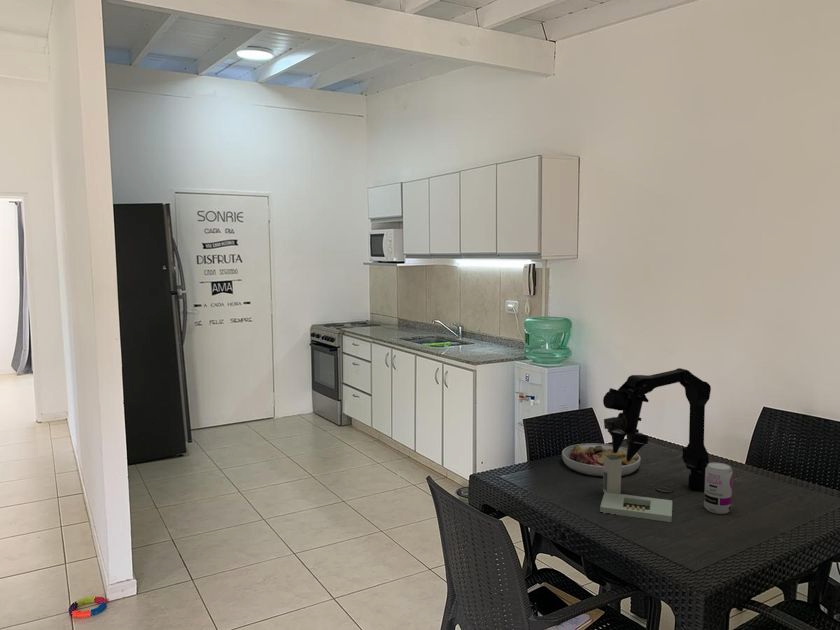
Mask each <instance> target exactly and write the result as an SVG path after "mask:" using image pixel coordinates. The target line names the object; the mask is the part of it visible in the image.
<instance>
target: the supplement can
mask: <svg viewBox="0 0 840 630" xmlns="http://www.w3.org/2000/svg"><path fill="white" fill-rule="evenodd" d="M733 475H734V473H733V469H732V467H731V465H730V464H727V463H722V462H709V464H708V465H707V467H706V468H705V492H704V491H703V493H704V495H703V497H704V498H703V499H704V500H703V507H704V509H705V510H706V511H708V512H710V513H712V514H713V513H714V514H718V515H724V514H726V515H727V514H728V513H730V512H731V510H732V498H733V497H732V495H733Z"/></svg>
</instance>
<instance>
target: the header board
mask: <svg viewBox="0 0 840 630" xmlns="http://www.w3.org/2000/svg"><path fill="white" fill-rule="evenodd" d="M601 499H602V500H601V503H600V506H599V508H600V509H599V513H600V512H603V513H602V514H606V513H610V514H609V515H614V514H616V515H615V516H621V517H622V516H623V517H630V518H639V519H644V520H652V521H658V522H665V523H666V522H667V523H672V520H673V519H672V518H673V516H672V515H673V500H670V499H662V498H657V497H655V498H654V497H647V496H638V495H632V494H631V495H630V494H624V493H623V494H616V493H608V492H605V493H604V494H603V496H602V498H601ZM627 503H628V504H627ZM625 504H626V506H624V505H625ZM635 504H636V505H637V506H636V507H635ZM630 505H631V507H630ZM643 505H645V506H643ZM640 506H642V507H641V508H640ZM646 507H649V509H646Z"/></svg>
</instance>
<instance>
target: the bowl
mask: <svg viewBox="0 0 840 630" xmlns="http://www.w3.org/2000/svg"><path fill="white" fill-rule="evenodd" d="M627 449H628V447H624V446H623V447H622V446H620V448H619V450H618V451H617V453H613V444H607V443H593V442H591V443H579V444H572V445H569V446H567V447H565V448H564V449H563V450H562V451H561V457H562V460H563V463H564V464H565V465H566V466H567V467H568V468H569V469H571V470H573V471H575V472H577V473H581V474H584V475H587V476H592V477H593V476H594V477H603V472H604V456H606V455H616V456H617V457H619V458H620V459H621V460H622V464H621V477H623V476H628V475H630V474H632V473H635V472H636V471H637V470H638V469H639V467H640V465H641V462H642V461H641V456H640V455H639V453H636V454H635V455H634V456H633V457H632V459H631V460H630V461H627V460H626V457H627Z"/></svg>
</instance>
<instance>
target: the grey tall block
mask: <svg viewBox="0 0 840 630" xmlns="http://www.w3.org/2000/svg"><path fill="white" fill-rule="evenodd" d="M621 464H622V460H621V459H620V458H619V457H617V456H616V455H606V456H604V472H603V479H602V480H603V481H602V483H603V484H602V492H604V493H605V492H608V493H616V494H621V493H622V491H621V490H622V489H621V488H622V476H621Z"/></svg>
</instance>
